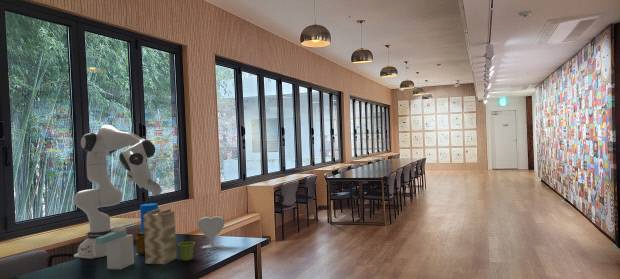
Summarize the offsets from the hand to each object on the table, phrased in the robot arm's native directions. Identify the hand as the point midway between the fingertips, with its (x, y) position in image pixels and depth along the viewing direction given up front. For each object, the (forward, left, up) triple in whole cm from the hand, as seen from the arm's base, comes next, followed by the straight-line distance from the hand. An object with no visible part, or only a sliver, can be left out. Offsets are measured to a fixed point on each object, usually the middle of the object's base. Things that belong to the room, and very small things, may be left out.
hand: (147, 190), depth 253 cm
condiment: (-12, +11, -38) cm, 41 cm away
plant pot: (+22, 0, -38) cm, 44 cm away
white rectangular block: (-8, -16, -38) cm, 42 cm away
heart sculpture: (+23, +29, -38) cm, 53 cm away
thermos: (-23, +35, -38) cm, 56 cm away
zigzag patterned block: (+9, -5, -38) cm, 39 cm away
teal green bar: (-8, -21, -22) cm, 32 cm away
